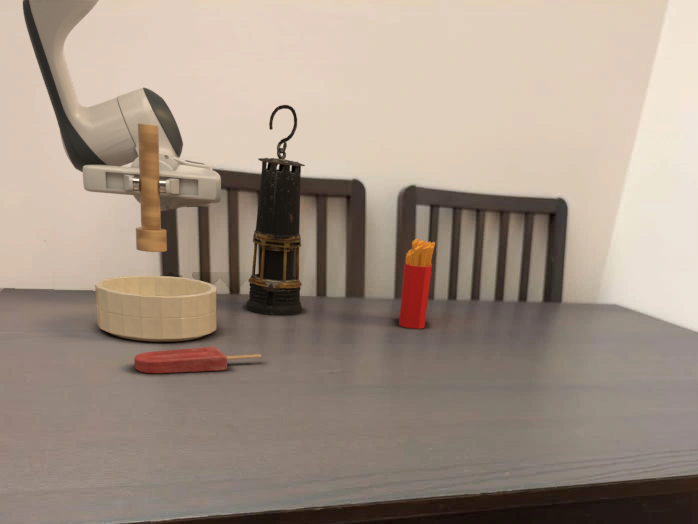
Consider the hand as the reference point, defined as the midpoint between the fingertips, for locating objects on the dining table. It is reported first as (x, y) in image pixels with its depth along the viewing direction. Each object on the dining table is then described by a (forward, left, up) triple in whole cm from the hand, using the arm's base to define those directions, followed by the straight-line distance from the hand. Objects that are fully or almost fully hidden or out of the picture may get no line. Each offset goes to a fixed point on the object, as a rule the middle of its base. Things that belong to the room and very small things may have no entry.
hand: (149, 185), depth 105 cm
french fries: (+25, +32, -18) cm, 44 cm away
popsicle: (+30, -11, -18) cm, 37 cm away
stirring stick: (-1, 0, -9) cm, 9 cm away
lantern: (+7, +18, -18) cm, 26 cm away
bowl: (+12, -6, -18) cm, 22 cm away
